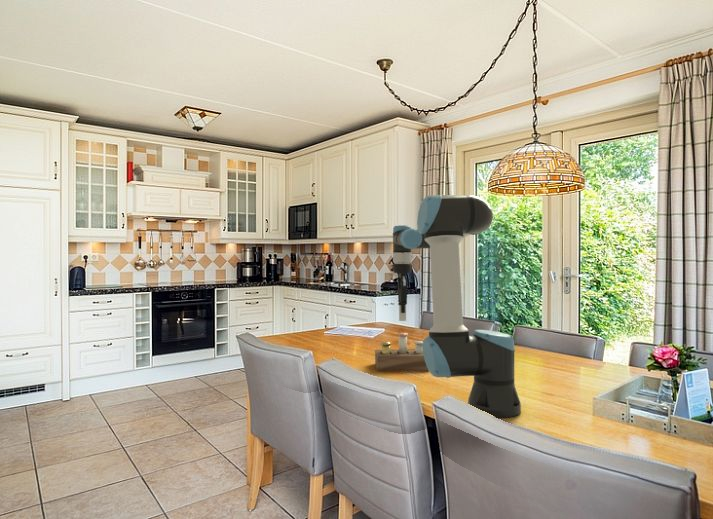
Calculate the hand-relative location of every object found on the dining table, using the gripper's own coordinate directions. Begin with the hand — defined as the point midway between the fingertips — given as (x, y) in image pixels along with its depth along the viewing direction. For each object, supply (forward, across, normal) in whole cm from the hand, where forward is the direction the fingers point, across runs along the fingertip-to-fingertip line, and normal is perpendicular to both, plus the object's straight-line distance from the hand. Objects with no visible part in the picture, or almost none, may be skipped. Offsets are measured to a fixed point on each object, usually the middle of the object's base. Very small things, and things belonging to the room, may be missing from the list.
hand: (402, 320), depth 187 cm
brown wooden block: (+19, 0, 0) cm, 19 cm away
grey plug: (+18, 0, -7) cm, 19 cm away
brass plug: (+18, 0, +7) cm, 19 cm away
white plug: (+14, 0, 0) cm, 14 cm away
